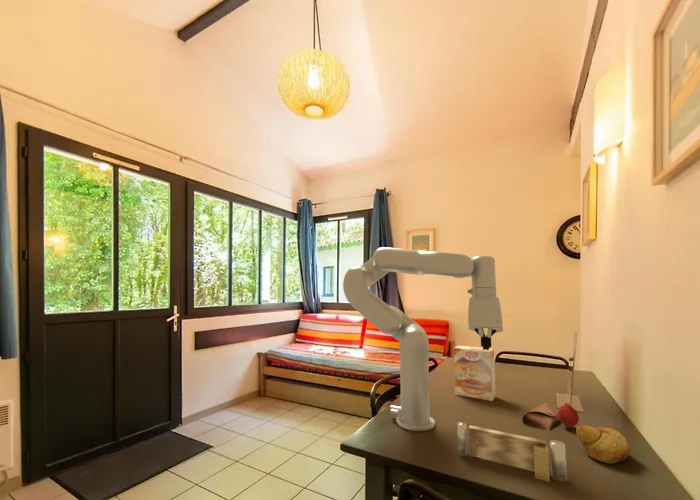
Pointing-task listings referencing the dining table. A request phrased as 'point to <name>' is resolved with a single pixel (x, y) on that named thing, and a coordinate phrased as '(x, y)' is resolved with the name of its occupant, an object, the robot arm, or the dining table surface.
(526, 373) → the dining table surface
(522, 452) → the strip
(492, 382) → the coffeecake box
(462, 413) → the dining table surface
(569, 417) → the red round fruit
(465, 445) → the hinge post
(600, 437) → the bread roll
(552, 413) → the sunglasses case
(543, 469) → the slab and cylinder
